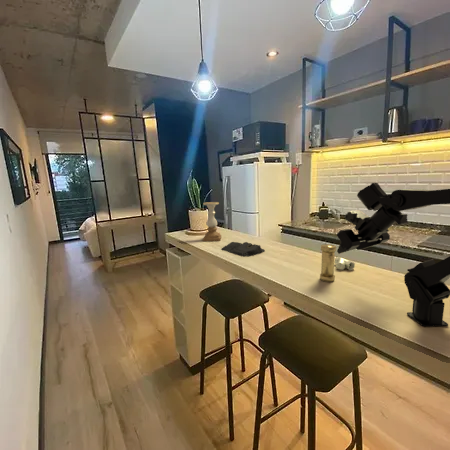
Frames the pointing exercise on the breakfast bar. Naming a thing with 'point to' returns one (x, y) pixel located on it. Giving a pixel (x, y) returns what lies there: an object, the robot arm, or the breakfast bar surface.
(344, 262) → the pipe fitting
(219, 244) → the breakfast bar surface
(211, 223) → the candle holder
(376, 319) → the breakfast bar surface
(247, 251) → the dark slate chunk
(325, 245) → the knob
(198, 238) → the breakfast bar surface
